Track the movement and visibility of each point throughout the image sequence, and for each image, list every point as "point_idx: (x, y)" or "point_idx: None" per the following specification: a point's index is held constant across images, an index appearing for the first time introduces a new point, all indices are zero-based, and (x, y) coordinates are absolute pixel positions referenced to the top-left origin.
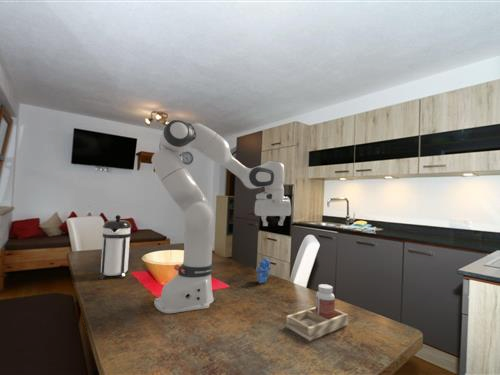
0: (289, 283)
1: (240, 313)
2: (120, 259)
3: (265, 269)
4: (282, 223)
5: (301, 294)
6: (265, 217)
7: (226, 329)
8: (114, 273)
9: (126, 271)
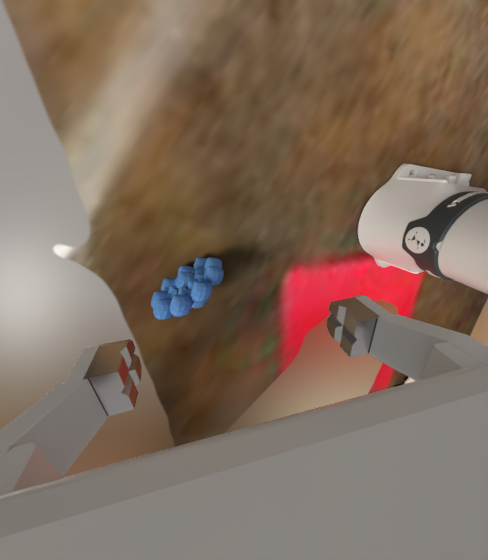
0: (103, 234)
1: (370, 92)
2: None
3: (188, 278)
4: (86, 360)
5: (122, 118)
6: (459, 350)
7: (446, 25)
8: None
9: (409, 378)
